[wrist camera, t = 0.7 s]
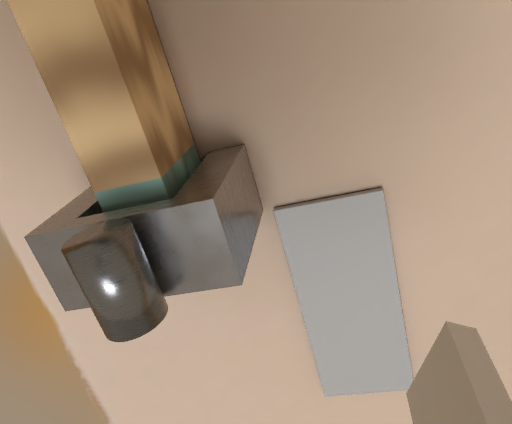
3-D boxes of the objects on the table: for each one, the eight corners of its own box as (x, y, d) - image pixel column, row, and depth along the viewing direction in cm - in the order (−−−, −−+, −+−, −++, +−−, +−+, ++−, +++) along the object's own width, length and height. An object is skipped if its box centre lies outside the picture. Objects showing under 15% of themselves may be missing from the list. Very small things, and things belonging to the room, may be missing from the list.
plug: (61, -43, 29) (-21, -61, 22) (124, -66, 28) (57, -94, 21) (152, 188, 36) (112, 231, 29) (205, 176, 35) (176, 218, 28)
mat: (274, 207, 35) (273, 210, 35) (382, 187, 33) (383, 190, 33) (324, 392, 44) (325, 396, 43) (413, 384, 42) (414, 389, 41)
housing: (103, 176, 36) (-22, 271, 23) (244, 144, 33) (193, 232, 20) (129, 235, 39) (29, 353, 25) (262, 210, 36) (229, 328, 22)
